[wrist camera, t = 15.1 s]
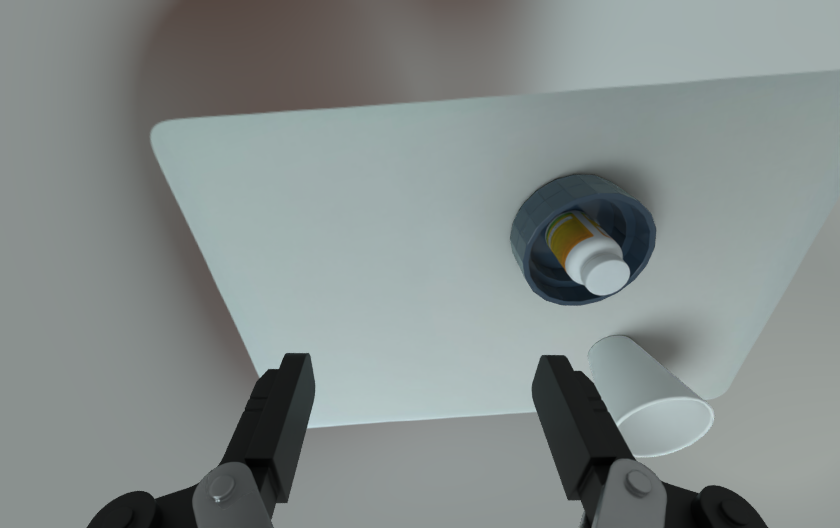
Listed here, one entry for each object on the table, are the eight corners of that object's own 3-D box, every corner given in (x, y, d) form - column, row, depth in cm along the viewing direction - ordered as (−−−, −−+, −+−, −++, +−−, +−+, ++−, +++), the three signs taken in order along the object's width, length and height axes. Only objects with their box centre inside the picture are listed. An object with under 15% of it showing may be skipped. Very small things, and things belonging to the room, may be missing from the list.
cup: (553, 359, 53) (589, 438, 43) (618, 308, 48) (677, 383, 38) (604, 389, 57) (649, 467, 46) (669, 344, 52) (735, 421, 42)
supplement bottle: (539, 251, 42) (571, 302, 34) (549, 208, 39) (587, 253, 31) (584, 251, 42) (627, 302, 34) (597, 209, 40) (647, 253, 31)
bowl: (521, 170, 38) (538, 191, 32) (642, 174, 38) (678, 195, 33) (501, 274, 45) (513, 305, 39) (603, 276, 45) (628, 306, 40)
